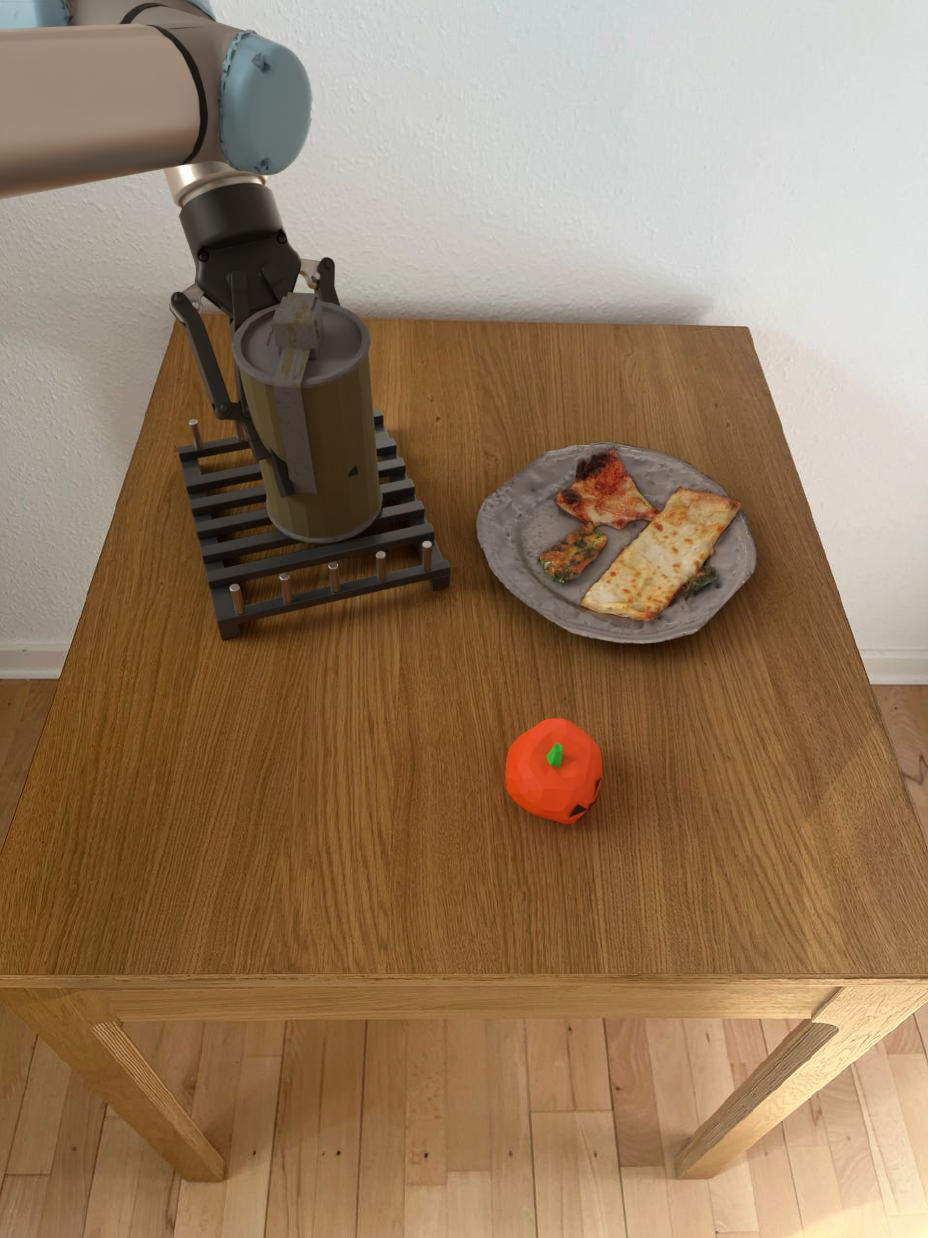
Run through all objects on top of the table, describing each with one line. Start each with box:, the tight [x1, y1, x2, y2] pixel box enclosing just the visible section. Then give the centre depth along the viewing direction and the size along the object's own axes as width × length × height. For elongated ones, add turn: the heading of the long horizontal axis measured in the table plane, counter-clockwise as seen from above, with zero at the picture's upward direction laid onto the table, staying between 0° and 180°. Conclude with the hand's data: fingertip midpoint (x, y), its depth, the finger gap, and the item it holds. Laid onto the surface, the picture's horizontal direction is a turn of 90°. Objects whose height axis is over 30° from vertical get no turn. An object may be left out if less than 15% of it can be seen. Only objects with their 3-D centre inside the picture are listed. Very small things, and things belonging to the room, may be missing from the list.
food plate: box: [475, 440, 758, 645], centre depth 85 cm, size 25×23×4 cm
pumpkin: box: [504, 717, 603, 825], centre depth 68 cm, size 7×8×6 cm
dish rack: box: [176, 409, 451, 641], centre depth 85 cm, size 20×22×6 cm
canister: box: [231, 291, 383, 545], centre depth 77 cm, size 11×10×20 cm
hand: (319, 485), depth 77 cm, fingers closed on canister, 5 cm apart
